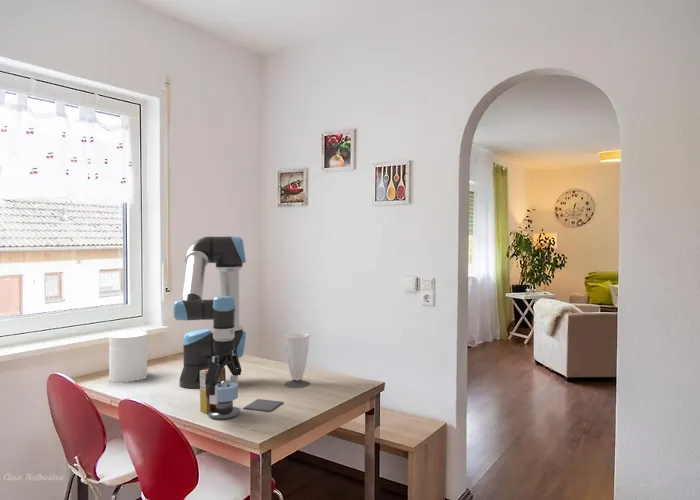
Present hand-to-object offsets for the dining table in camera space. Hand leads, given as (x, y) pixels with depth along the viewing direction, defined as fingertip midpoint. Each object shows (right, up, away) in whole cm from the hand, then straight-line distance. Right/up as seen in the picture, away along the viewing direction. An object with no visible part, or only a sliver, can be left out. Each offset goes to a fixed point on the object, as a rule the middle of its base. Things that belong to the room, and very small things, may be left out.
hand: (224, 398), depth 181 cm
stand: (0, -6, 0) cm, 6 cm away
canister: (-57, -5, +50) cm, 76 cm away
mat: (+13, -6, +10) cm, 17 cm away
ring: (0, 0, 0) cm, 0 cm away
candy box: (-6, -6, +6) cm, 10 cm away
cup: (+22, -6, +39) cm, 45 cm away
